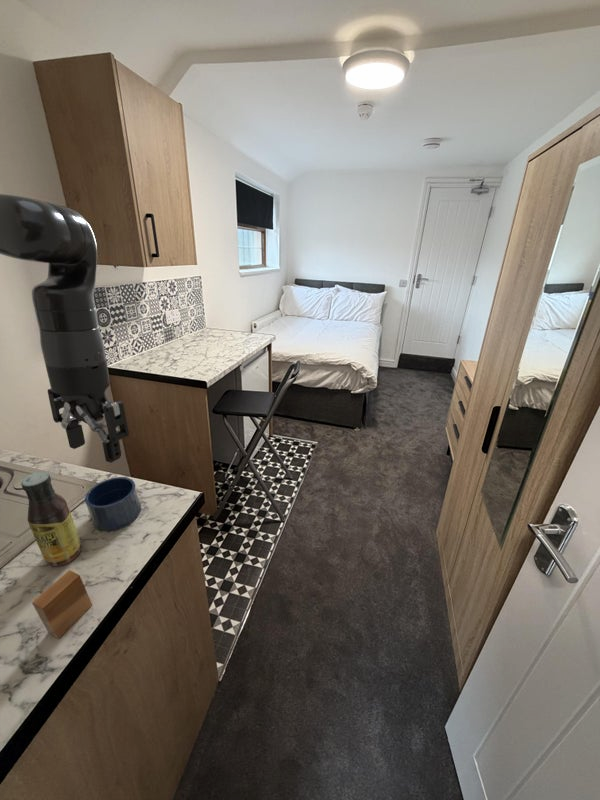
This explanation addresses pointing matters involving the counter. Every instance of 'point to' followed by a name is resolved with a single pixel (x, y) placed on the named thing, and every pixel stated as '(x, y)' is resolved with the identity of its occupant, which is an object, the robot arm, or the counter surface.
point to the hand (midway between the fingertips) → (95, 453)
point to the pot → (113, 503)
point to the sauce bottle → (50, 520)
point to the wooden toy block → (62, 603)
